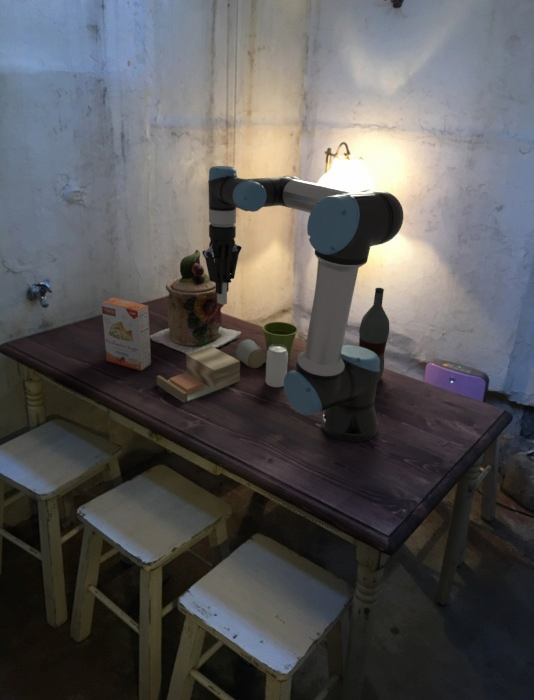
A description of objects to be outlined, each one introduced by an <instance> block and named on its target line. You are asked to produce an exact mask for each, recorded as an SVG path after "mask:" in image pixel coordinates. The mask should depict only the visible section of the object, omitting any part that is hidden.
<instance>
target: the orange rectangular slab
mask: <svg viewBox="0 0 534 700" xmlns="http://www.w3.org/2000/svg"><path fill="white" fill-rule="evenodd" d="M168 380H169V381H170V382H171V383H173V384H174V385H176V386H177V387H179V388H180V389H182V390H183V391H185V392H187V395H190V394H192V393H195V392H197V391H200V390H203V389H204V383H202V382H201V381H199V380H197V379H196V378H194V377H192V376H191V375H189V374H187V372H183V373H181V374H177V375H175V376H172V377H169V379H168Z"/></svg>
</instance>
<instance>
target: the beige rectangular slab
mask: <svg viewBox="0 0 534 700" xmlns="http://www.w3.org/2000/svg"><path fill="white" fill-rule="evenodd" d="M185 357H186V359H185V360H186V363H185V364H186V373H187V374H189V375H191V376H192V377H194V378H196V379H197V380H199V381H201V382H202V383H204V384H205V385H207V386H208V387H210V388H212V389H213V390H214V392H217V391H219V390H221V389H223V388H226V387H229V386H231V385H234V384H236V383H239V382H240V381H241V379H240V377H241V376H240V375H241V374H240V373H241V360H240V359H238V358H237V359H236V358H235V357H233V356H231V355H229V354H227V353H225V352H223V351H222V350H220V349H218V348H214V347H212V346H211V347H208V348H205V349H201V350H198V351H195V352H192V353H189V354H185Z"/></svg>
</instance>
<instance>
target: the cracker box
mask: <svg viewBox="0 0 534 700" xmlns="http://www.w3.org/2000/svg"><path fill="white" fill-rule="evenodd" d="M101 311H102V321H103V322H102V323H103V334H104V335H103V336H104V346H105V356H106V357H105V358H106V362H108V363H109V362H110V363H113V364H116V365H120V366H121V367H122V366H123V367H125V368H130V369H132V370H136V371H139V372H142V371H143V370H145V369H146V368H148V367H149V366H151V365H152V357H151V356H152V354H151V339H150V335H151V334H150V333H151V332H150V331H151V330H150V314H149V305H147V304H142V303H140V302H139V303H138V302H134V301H130V300H125V299H121V298H119V297H118V298H117V297H111V298H109V299H106V300H103V301H102V302H101Z"/></svg>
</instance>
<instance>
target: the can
mask: <svg viewBox="0 0 534 700" xmlns="http://www.w3.org/2000/svg"><path fill="white" fill-rule="evenodd" d="M266 355H267V360H266V363H265V383H266V385H267V386H268V387H271V388H276V389H277V388H278V389H280V388H282V387H283V388H284V377H285V375H286V374H287V373H288V363H289V362H288V361H289V360H288V352H287V348H286V347H285V346H283V345H271V346H269V348H268V351H267V350H266Z"/></svg>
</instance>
